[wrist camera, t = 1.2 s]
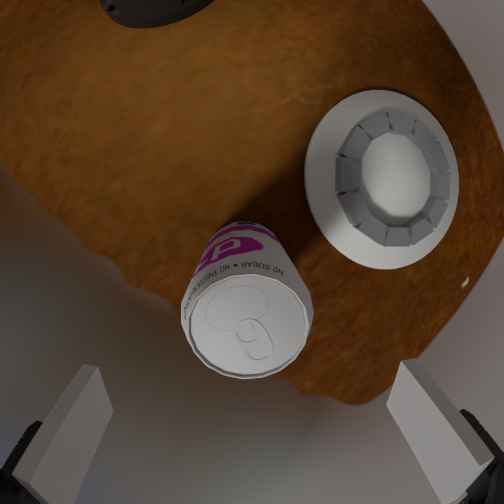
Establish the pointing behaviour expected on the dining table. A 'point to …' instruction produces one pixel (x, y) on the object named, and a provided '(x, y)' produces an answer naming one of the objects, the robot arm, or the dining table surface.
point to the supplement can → (246, 304)
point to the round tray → (381, 179)
